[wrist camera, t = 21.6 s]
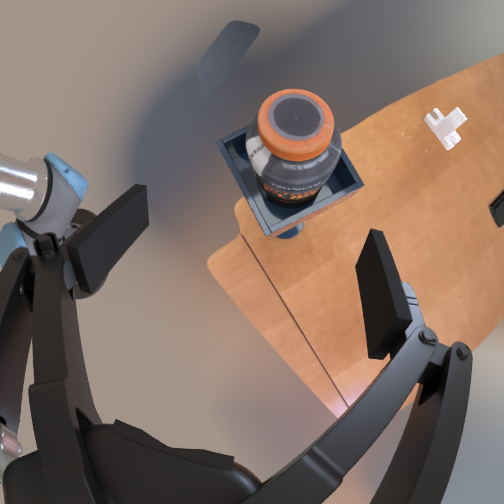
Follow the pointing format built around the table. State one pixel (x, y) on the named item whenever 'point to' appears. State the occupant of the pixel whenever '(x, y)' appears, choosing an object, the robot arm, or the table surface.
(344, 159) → the square tray stand
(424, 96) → the table surface
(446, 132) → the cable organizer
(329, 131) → the pill bottle
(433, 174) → the table surface
